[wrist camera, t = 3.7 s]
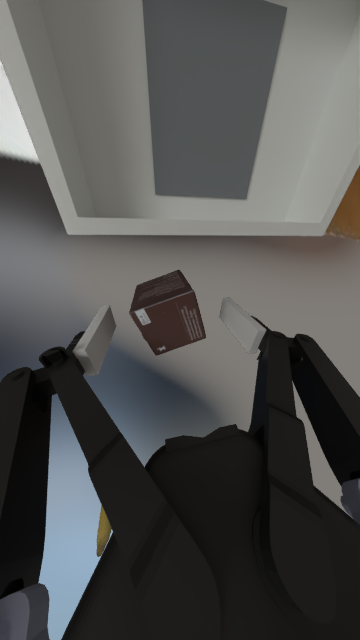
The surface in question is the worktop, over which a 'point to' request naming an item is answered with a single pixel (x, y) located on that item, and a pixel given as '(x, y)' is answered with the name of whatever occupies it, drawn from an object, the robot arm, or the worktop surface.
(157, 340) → the box
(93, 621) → the robot arm
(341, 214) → the worktop surface
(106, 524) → the vegetable
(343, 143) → the tray
